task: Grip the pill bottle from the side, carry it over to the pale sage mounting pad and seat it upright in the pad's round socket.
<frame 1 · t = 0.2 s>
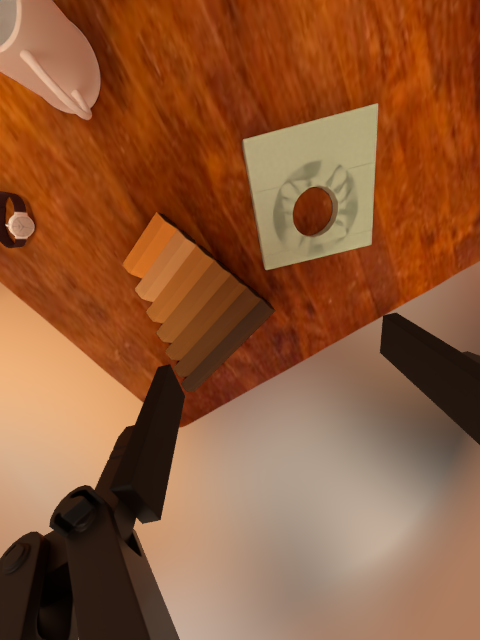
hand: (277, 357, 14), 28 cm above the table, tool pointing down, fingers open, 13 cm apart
mug: (74, 85, 28), on the table
mounting pad: (309, 198, 35), on the table
watch: (19, 220, 34), on the table
pan flute: (181, 314, 42), on the table
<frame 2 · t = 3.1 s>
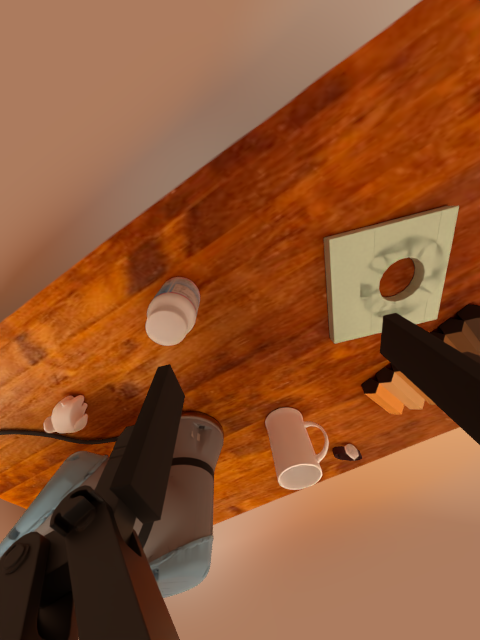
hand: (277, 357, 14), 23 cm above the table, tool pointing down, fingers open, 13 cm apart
mug: (289, 416, 50), on the table
mounting pad: (380, 279, 37), on the table
watch: (343, 447, 57), on the table
pill bottle: (181, 294, 35), on the table
pan flute: (438, 376, 48), on the table
elephant figurine: (79, 401, 44), on the table
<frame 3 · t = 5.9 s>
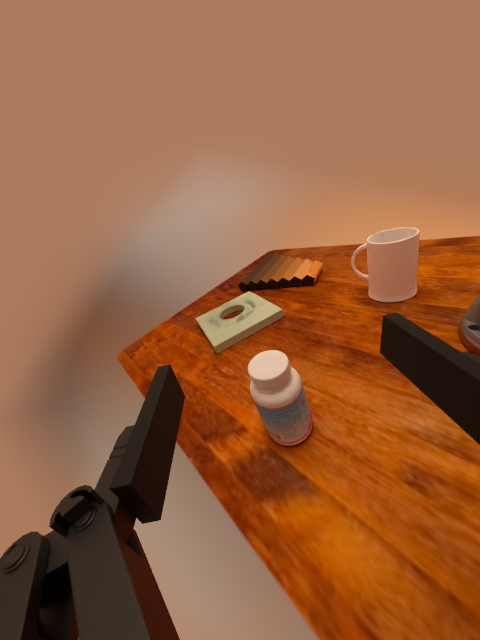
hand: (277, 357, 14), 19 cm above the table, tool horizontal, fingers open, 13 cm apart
mug: (382, 292, 48), on the table
mounting pad: (237, 320, 58), on the table
pill bottle: (289, 425, 30), on the table
pan flute: (287, 271, 76), on the table
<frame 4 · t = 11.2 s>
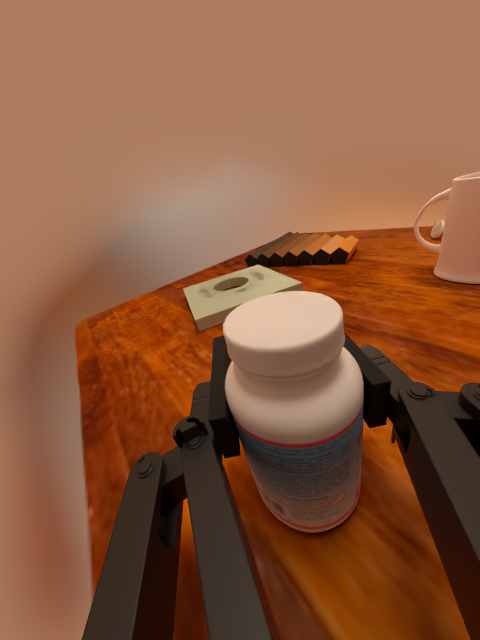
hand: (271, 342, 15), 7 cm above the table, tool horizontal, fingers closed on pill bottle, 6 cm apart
mug: (458, 272, 32), on the table
mounting pad: (236, 295, 43), on the table
watch: (446, 237, 45), on the table
pill bottle: (304, 473, 14), on the table, touching gripper
pan flute: (309, 251, 60), on the table
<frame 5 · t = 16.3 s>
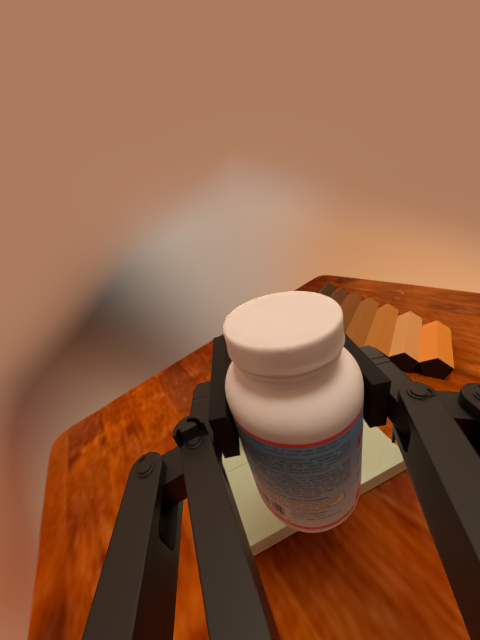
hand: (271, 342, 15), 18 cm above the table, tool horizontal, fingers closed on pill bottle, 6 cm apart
mounting pad: (284, 432, 29), on the table
pill bottle: (304, 473, 14), point 11 cm above the table, touching gripper
pan flute: (364, 323, 45), on the table
when the fingers open (6 cm above the table, at t = 21.3 s): pill bottle stays where it is, resting in mounting pad.
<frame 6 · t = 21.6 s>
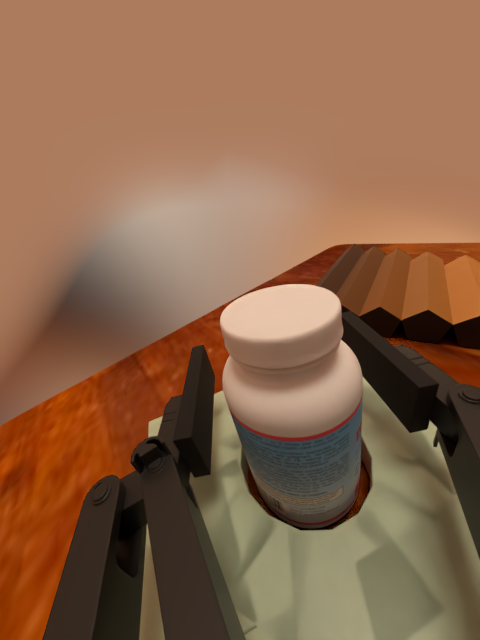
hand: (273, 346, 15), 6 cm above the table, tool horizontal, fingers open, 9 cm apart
mounting pad: (325, 504, 12), on the table
pill bottle: (303, 470, 14), resting in mounting pad
pan flute: (423, 289, 29), on the table
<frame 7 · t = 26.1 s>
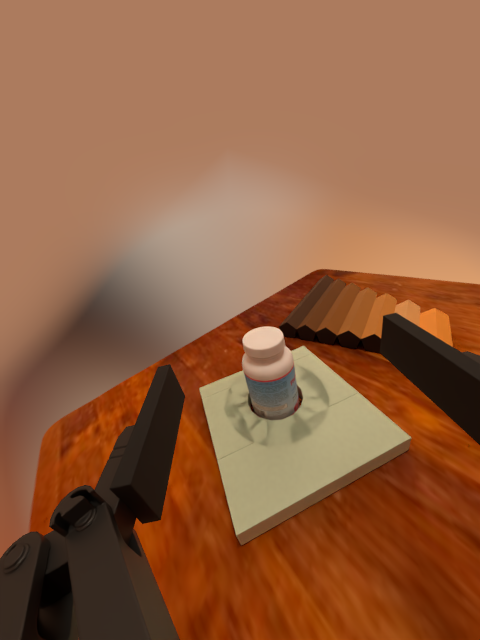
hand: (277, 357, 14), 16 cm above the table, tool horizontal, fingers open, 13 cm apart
mounting pad: (283, 418, 28), on the table
pill bottle: (276, 407, 30), resting in mounting pad
pan flute: (362, 313, 45), on the table
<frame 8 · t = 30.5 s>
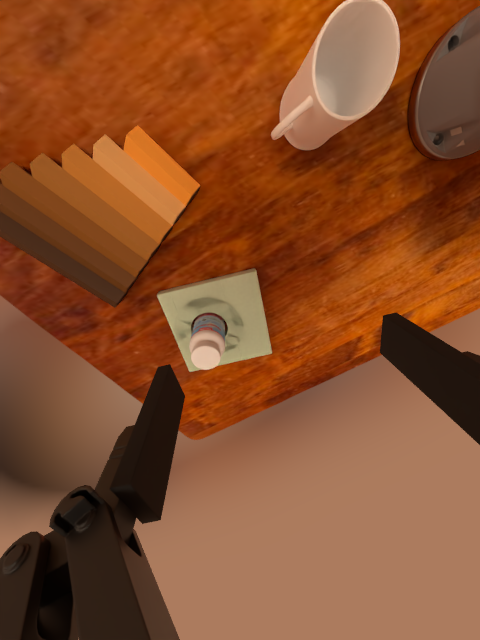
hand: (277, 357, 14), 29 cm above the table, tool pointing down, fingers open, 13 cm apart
mug: (298, 119, 31), on the table
mounting pad: (219, 322, 45), on the table
pill bottle: (209, 323, 45), resting in mounting pad
pan flute: (84, 194, 33), on the table
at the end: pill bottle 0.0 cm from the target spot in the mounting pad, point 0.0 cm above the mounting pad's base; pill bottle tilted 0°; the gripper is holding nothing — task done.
